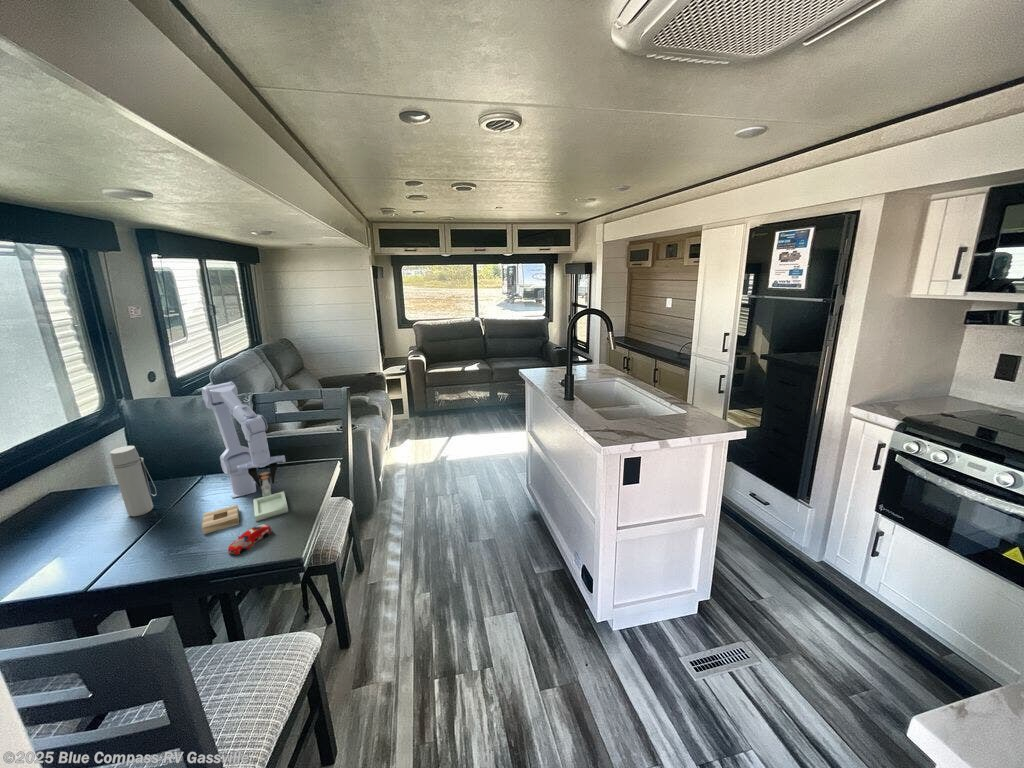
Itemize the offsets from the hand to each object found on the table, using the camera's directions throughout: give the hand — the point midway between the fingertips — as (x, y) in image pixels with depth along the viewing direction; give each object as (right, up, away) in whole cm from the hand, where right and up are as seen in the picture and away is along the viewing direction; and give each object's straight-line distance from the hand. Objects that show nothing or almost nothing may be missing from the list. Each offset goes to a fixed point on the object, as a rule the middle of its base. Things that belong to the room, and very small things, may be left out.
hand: (266, 484), depth 148 cm
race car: (+5, -15, -16) cm, 23 cm away
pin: (0, -4, +1) cm, 4 cm away
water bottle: (-46, -11, +2) cm, 47 cm away
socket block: (-12, -12, -5) cm, 18 cm away
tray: (0, -9, +3) cm, 10 cm away
